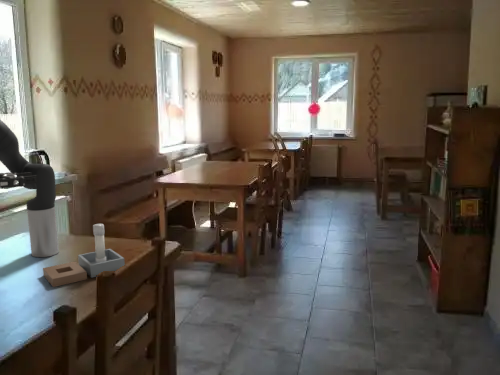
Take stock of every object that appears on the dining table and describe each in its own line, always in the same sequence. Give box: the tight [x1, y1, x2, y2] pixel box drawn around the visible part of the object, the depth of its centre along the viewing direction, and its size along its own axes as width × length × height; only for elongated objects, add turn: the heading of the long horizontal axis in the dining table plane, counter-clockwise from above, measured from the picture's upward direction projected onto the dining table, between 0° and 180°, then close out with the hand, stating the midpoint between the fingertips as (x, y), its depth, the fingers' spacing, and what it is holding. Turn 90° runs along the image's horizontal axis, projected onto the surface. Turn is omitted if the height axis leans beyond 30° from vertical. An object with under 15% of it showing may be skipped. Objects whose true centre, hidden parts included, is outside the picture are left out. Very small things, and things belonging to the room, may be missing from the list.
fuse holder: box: [42, 261, 88, 288], centre depth 145 cm, size 12×10×2 cm
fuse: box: [92, 223, 106, 263], centre depth 152 cm, size 3×3×14 cm
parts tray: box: [77, 248, 126, 278], centre depth 153 cm, size 13×11×4 cm
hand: (34, 177), depth 140 cm, fingers open, 8 cm apart
